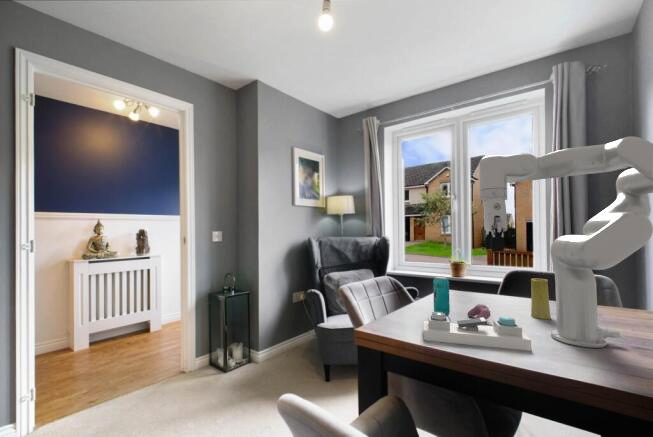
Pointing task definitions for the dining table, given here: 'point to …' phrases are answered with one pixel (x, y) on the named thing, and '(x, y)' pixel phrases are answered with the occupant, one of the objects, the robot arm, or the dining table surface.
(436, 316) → the steel button
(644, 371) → the dining table surface
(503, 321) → the teal button
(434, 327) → the control panel
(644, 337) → the dining table surface
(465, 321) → the rocker switch
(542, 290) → the vase
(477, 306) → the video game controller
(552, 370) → the dining table surface
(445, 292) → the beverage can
